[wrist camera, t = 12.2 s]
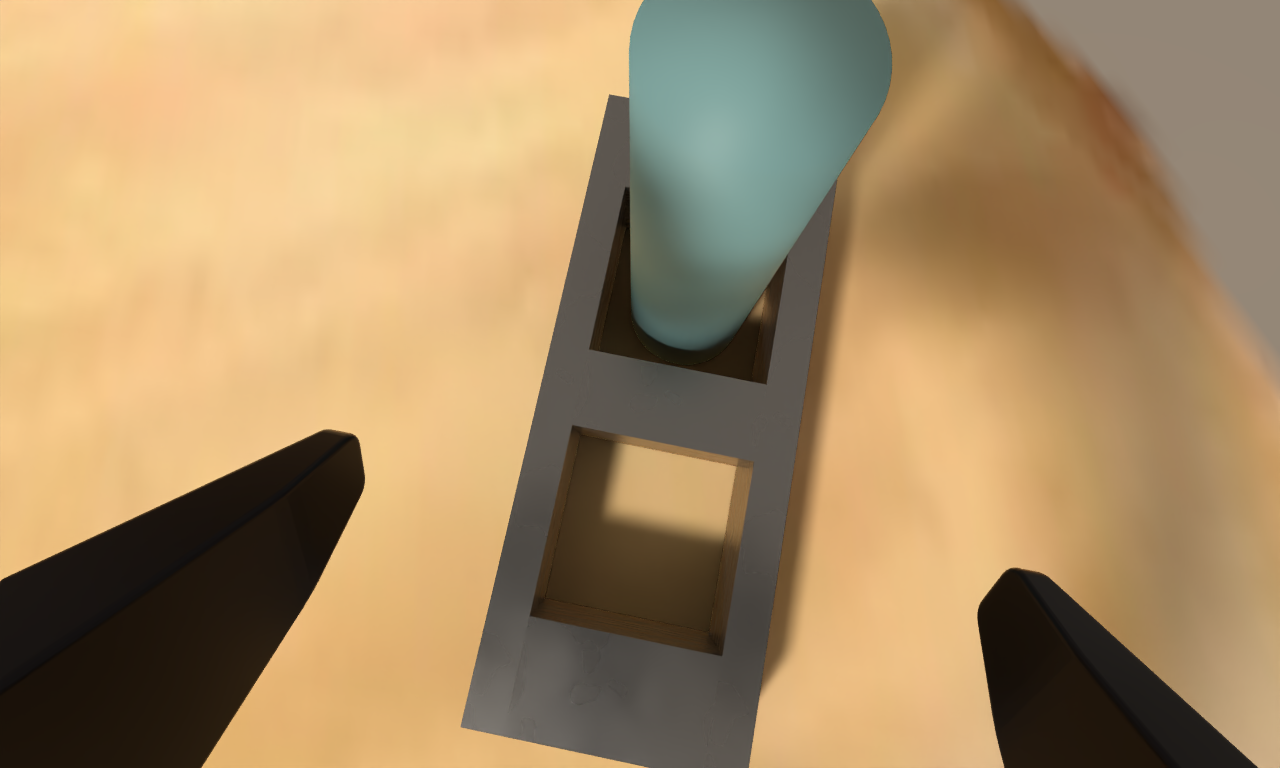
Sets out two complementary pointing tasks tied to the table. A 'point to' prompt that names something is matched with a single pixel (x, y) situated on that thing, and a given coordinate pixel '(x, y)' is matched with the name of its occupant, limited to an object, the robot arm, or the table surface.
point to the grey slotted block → (666, 421)
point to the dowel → (737, 150)
